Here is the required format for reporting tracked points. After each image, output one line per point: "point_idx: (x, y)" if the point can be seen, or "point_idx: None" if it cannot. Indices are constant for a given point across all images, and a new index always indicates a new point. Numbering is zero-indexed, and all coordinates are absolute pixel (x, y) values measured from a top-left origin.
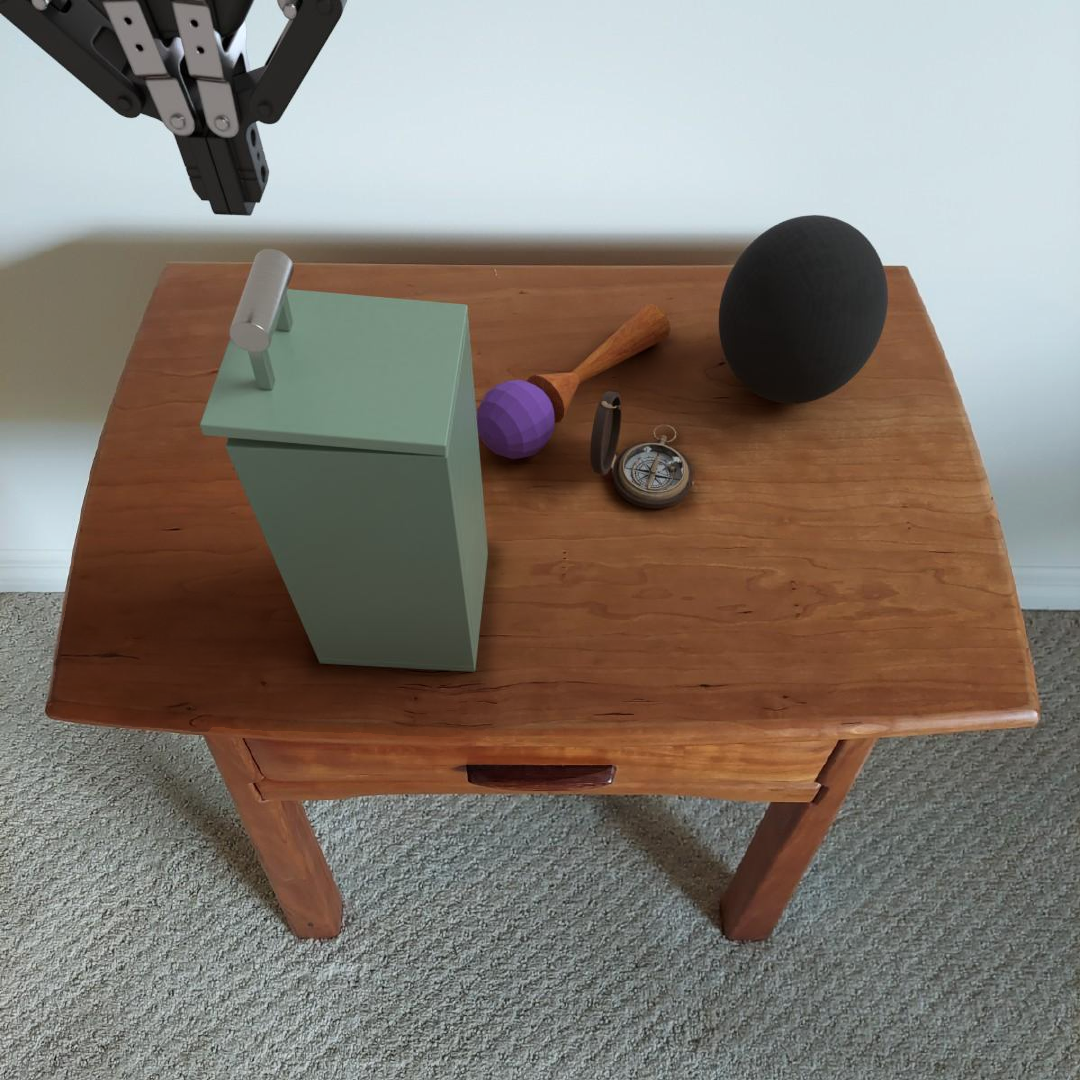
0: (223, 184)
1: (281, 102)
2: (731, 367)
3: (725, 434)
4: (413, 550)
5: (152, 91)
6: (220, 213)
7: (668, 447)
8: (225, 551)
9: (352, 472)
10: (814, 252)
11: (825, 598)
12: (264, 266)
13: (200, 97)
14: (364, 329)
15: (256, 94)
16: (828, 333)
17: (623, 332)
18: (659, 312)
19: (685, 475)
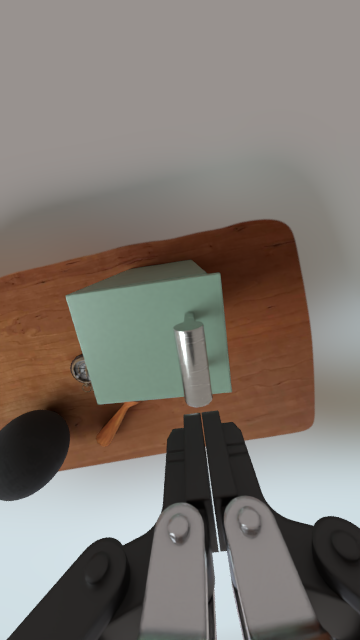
0: (200, 439)
1: (62, 591)
2: (61, 421)
3: (66, 393)
4: (125, 276)
5: (297, 586)
6: (211, 411)
7: (82, 381)
8: (245, 301)
9: (134, 281)
10: (2, 480)
11: (9, 328)
12: (196, 389)
13: (232, 569)
14: (148, 373)
15: (98, 606)
16: (2, 440)
17: (111, 430)
18: (100, 442)
19: (72, 370)
